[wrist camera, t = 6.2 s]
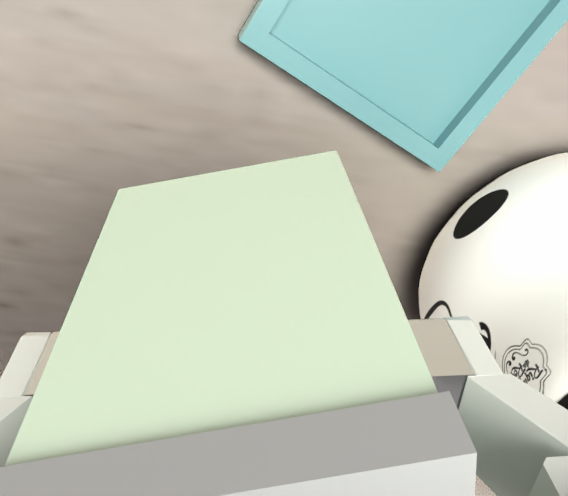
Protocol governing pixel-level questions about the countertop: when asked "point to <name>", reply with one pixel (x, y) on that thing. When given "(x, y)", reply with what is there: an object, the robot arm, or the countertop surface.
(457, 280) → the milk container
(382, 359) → the tea tin
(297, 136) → the countertop surface
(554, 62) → the countertop surface
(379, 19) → the tray
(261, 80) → the countertop surface
